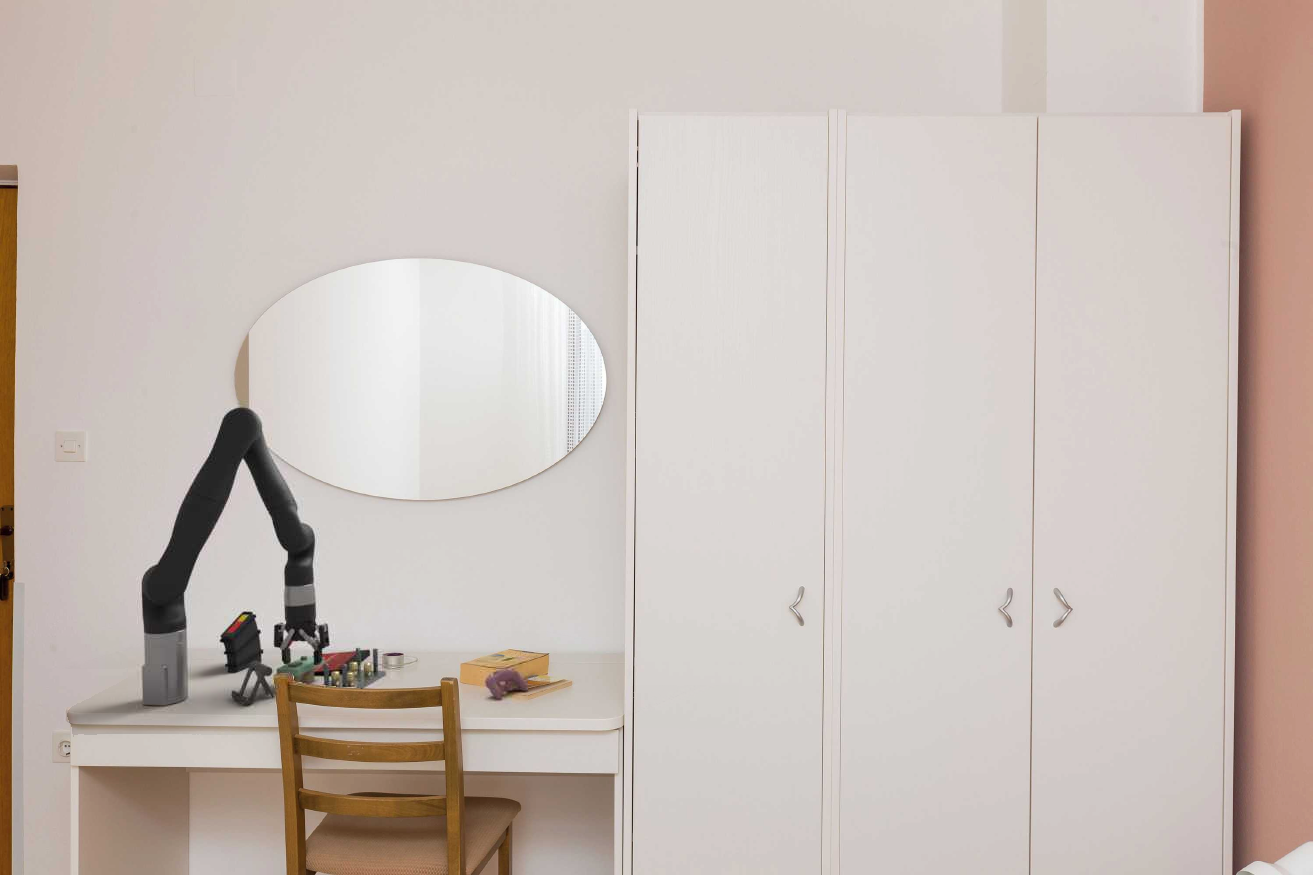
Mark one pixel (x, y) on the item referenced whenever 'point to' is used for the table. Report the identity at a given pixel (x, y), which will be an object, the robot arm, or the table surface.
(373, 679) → the chassis
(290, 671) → the board
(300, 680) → the rest
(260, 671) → the portable electronic device stand
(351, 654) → the binder
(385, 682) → the table surface
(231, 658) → the black box
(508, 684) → the purple animal figurine
